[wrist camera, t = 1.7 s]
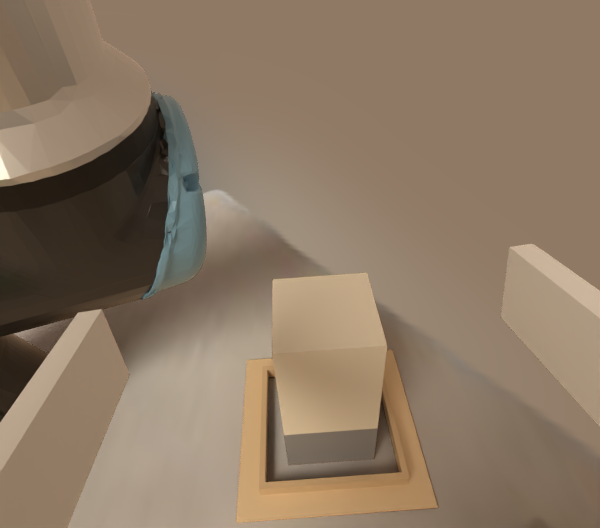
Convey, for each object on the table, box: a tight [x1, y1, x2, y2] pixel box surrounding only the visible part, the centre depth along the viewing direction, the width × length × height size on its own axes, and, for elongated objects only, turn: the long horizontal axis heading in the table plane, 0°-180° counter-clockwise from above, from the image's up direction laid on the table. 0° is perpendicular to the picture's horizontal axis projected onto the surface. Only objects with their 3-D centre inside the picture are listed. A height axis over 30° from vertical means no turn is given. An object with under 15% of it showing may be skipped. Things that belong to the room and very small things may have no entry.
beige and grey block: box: [272, 273, 387, 465], centre depth 27 cm, size 6×6×12 cm
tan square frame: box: [236, 350, 438, 523], centre depth 31 cm, size 13×13×1 cm
